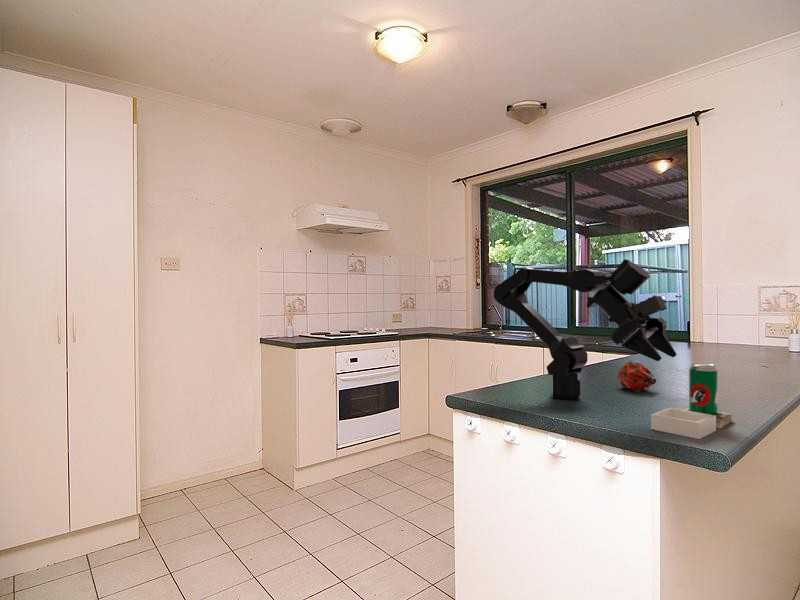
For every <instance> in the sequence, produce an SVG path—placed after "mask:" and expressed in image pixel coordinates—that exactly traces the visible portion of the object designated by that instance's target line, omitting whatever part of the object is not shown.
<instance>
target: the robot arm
mask: <svg viewBox="0 0 800 600" xmlns="http://www.w3.org/2000/svg"><path fill="white" fill-rule="evenodd" d="M650 277H651V276H650V273H649V272H647V271H646V270H645V269H644V268H643V267H640V266H639V265H637V264H636V263H634V262H632V261H631V260H630V259H627V258H626V259H623V260H622V261H621V262H620V264H619V266H618V267H617V268H616V269H615V270H614V271H613V272H612V273H611V274H604V273H603V272H602V271H600V270H597V269H578V270H568V271H559V270H550V269H549V270H548V269H536V268H533V267H521V268H519V269H518V270H517V271H516V272H515V273H513V274H512V275H511V276H509V277H508V278H506V279H504V280H503V281H502V282H501V283H499V284H496V286H495V288H494V290H493V299H494V301H495V302H497V303H498V304H499V305H500V306H502V307H504V308H505V309H507V310H509V311H512V312H514V314H516V315H517V316H518V317H519V318H520V319H521V320H522V322H524V323H525V324H526V326H527V327H529V329H531V331H533V333H534V334H535V336H537V337H538V338H539V339H540V340H541V341H542V342H543V343H544V344H545V345H546V346H547V347H548V350H549V354H550V356H551V358H552V361H551V362H550V363H549V364H548V365H546V371H547V374H548V375H550V376H551V381H552V382H551V384H552V387H551V388H552V392H551V397H552V399H559V400H577V401H578V400H580V396H581V380H580V379H579V378H578V377H579V375H578V374H581V373H582V370H583V367H584V366H586V364H587V362H588V356H589V355H588V352H587V350H585V348H586V346H585V345H583V344H582V343H580V342H579V341H578V339H577V338H576V337H575V336H569V337H565V336H563V335H562V334H560V332H559V331H558V330H556V328H555V327H553V325H552V324H550V322H548V320H546V319H545V318H544V316H542V315H541V313H540V312H539V311H537V310H536V308H534V307H533V306H532V305H531V304H530V303H529V301H528V298H527V294H526V292H527V291H528V290H529V288H530V287H531V285H532V284H533V283H539V284H547V285H555V286H556V285H557V286H564V287H566V288H568V289H570V290H575V291H576V292H580V293H595V294H594V295H593V296H587V297H586V300H587V302H586V308H588V309H589V308H592V309H593V308H596V307H598V308H599V309H600V310H602V312H603V313H604V314H605V315H606V316H607V317H608V319H607V321H608V322H609V323H611V324H612V323H614V324H615V325H616V326H617V328H615V329H614V330H613V331H612V332H611V334H610V335H611V337H610V338H611V340H612V341H613V343H614V344H615V345H616V346H619V345H620V346H621V348H626V349H628V350H630V351H633V352H635V353H638V354H640V355H642V356H644V357H646V358H649V359H651V360H654V361H655V362H660V361H661V360H662V356H661V355H660V354H659V352H658V351H660V352H662V353H664V354H665V355H666V356H667V355H668V356H669V357H670V358H674V357H676V356H677V352H676V351H675V348H674V347H673V346H672V344H671V342H670V340H669V339H668V337H667V335H666V330H667V325H668V323H667V322H666V320H664V318H663V317H655V316H654V317H651V315H654V314H656V313H658V312H661V311H665V310H667V309H668V308H667V306H666V302H667V301H666V299H663V297H662V296H661V295H652V296H651V297H647V299H644V300H642V301H641V302H638V303H635V302H629V301H628V300H627V299H626V298H625V297H624V296H626V295H627V294H628V295H630V296H631V295H633V294H635V292H637V290H638V289H640V287H642V285H643V284H644V283H646V282H647V280H648V279H650ZM623 295H624V296H623Z"/></svg>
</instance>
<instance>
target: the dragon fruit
mask: <svg viewBox="0 0 800 600" xmlns="http://www.w3.org/2000/svg"><path fill="white" fill-rule="evenodd" d="M654 377H655V375H653V374H652V371H650V369H648V368H647V367H645V366H644V365H643V364H642V363H640V362H633V361H628V362H626V363H624V364H623V365H622V366H621V367H620V368H619V371H618V372H617V375H616V378H617V379H619V382H620V385H621V387H622V388H623V389H624V388H629V389H630V390H632V391H633V392H637V393H638V392H640V393H641V392H642V391H643V390H645V389H646V388H647V389H648V390H650V389H649V388H650V387H652V385H655V384H656V382H657V378H654ZM641 389H642V390H641Z"/></svg>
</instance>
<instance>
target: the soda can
mask: <svg viewBox="0 0 800 600" xmlns="http://www.w3.org/2000/svg"><path fill="white" fill-rule="evenodd" d="M690 365H691V366H690V367H689V368H688V388H689V389H688V394H689V395H688V397H689V399H688V403H689V405H688V407H689V411H693V412H698V413H704V414H710V415H716V420H717V419H718V412H719V410H718V395H719V394H718V391H719V390H718V370H717V368H716V365H714V364H709V363H700V362H699V363H691V364H690Z"/></svg>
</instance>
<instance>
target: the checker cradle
mask: <svg viewBox="0 0 800 600" xmlns="http://www.w3.org/2000/svg"><path fill="white" fill-rule="evenodd" d="M682 410H687V411H689V406H688V407H686V408H684V409H682ZM732 420H733V419H732V413H728V412H720V411H718V419H717V420H716V429H722V428H723V427H725V426H727V425H729V423H731V422H732Z"/></svg>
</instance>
